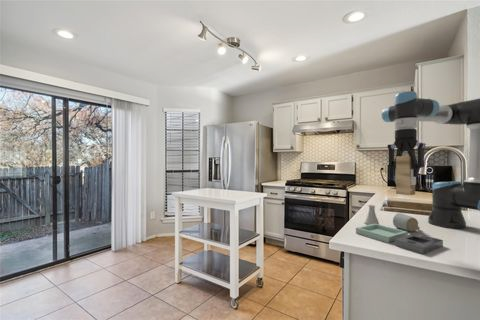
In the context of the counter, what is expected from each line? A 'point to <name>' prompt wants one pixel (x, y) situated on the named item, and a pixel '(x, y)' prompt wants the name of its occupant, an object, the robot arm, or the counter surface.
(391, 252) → the counter surface
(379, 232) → the green tray
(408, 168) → the wooden peg
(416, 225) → the grey cylinder
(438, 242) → the gray slotted block
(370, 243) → the counter surface
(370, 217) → the flask
